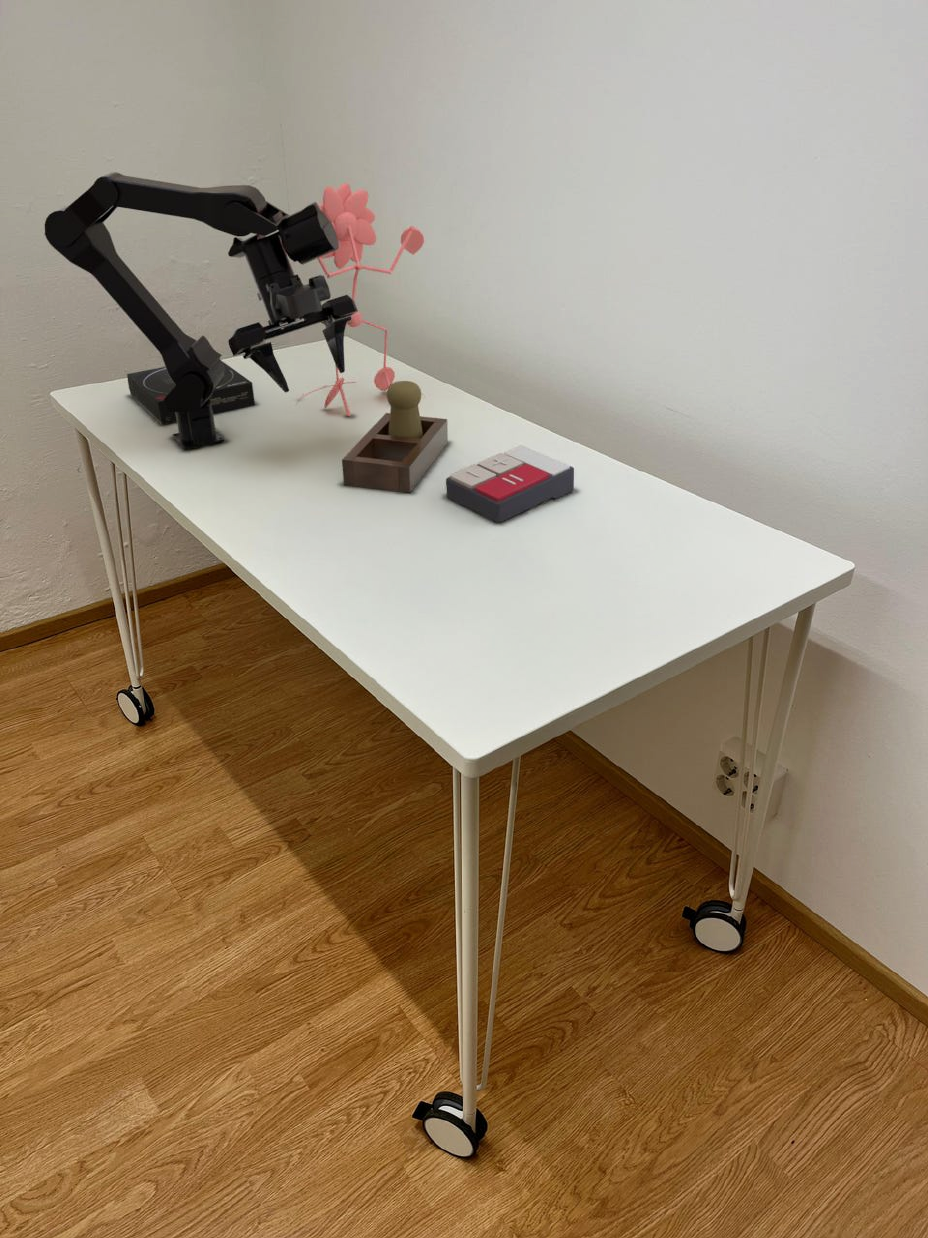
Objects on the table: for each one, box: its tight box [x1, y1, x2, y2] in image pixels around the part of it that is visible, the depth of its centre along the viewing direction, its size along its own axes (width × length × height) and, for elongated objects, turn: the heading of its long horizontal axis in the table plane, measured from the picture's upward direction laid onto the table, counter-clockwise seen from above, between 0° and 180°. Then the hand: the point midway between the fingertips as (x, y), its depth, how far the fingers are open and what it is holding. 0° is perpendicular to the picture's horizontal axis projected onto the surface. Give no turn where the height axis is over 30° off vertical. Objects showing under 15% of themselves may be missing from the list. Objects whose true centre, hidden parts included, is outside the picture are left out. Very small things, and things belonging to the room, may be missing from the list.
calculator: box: [445, 444, 575, 524], centre depth 139 cm, size 11×4×15 cm
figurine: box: [286, 182, 426, 417], centre depth 162 cm, size 15×26×35 cm, turn 127°
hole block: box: [341, 412, 449, 494], centre depth 148 cm, size 10×19×4 cm, turn 164°
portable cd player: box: [126, 360, 256, 426], centre depth 171 cm, size 16×17×4 cm
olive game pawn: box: [386, 380, 423, 439], centre depth 149 cm, size 6×6×11 cm
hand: (315, 381), depth 144 cm, fingers open, 9 cm apart
